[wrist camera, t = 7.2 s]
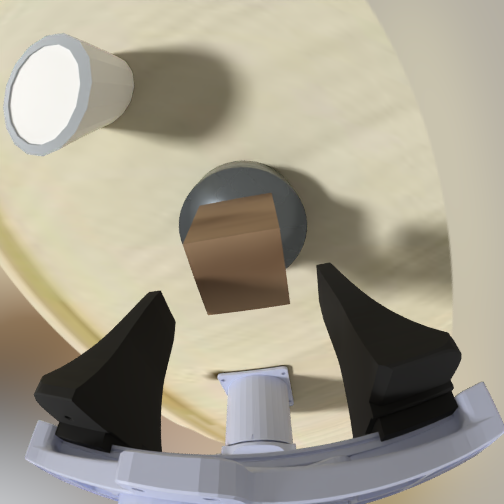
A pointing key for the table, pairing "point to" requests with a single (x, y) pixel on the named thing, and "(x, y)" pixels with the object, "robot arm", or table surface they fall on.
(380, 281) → the table surface
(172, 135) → the table surface
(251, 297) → the walnut block
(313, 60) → the table surface
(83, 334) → the table surface
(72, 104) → the grey and white cylinder
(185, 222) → the tin
